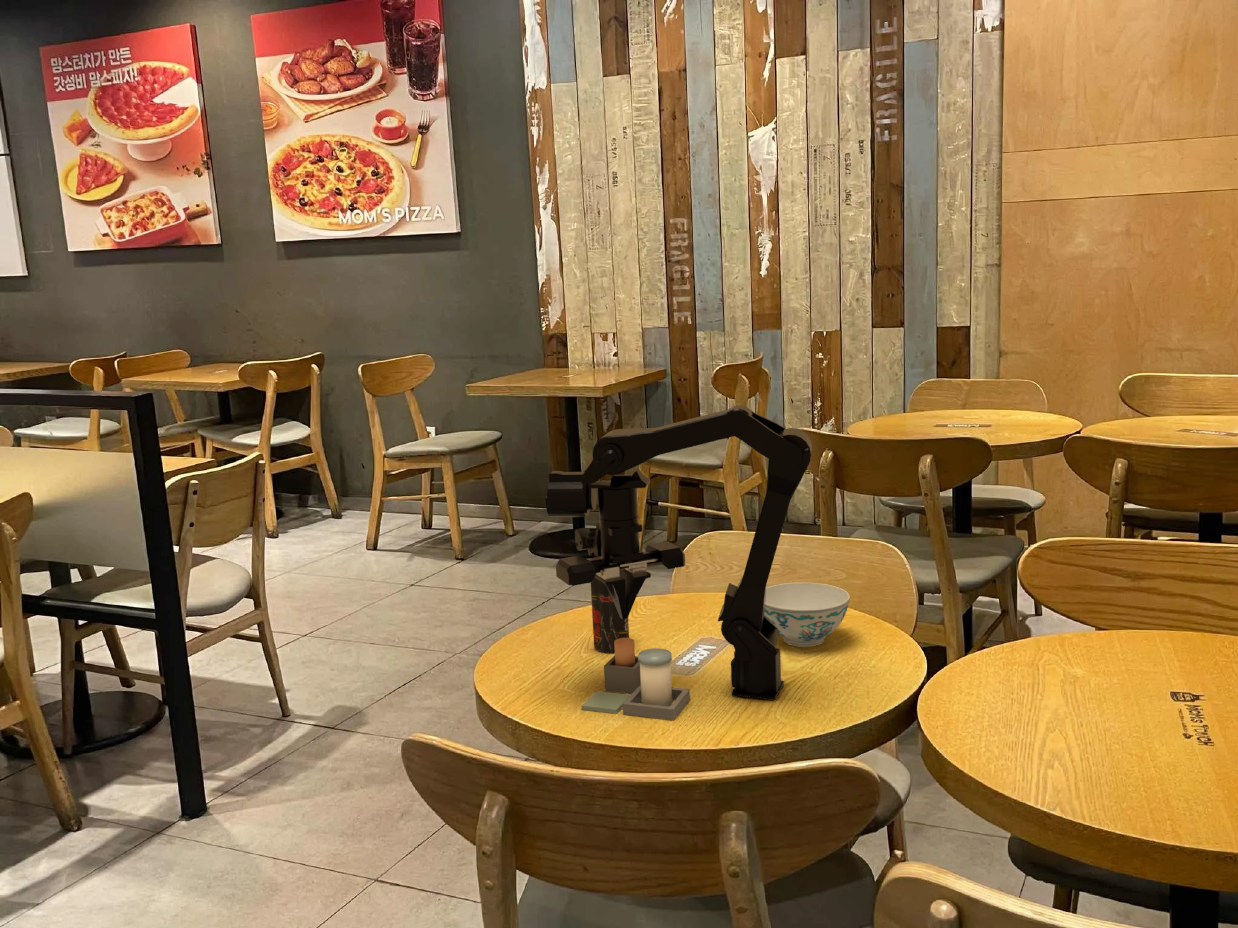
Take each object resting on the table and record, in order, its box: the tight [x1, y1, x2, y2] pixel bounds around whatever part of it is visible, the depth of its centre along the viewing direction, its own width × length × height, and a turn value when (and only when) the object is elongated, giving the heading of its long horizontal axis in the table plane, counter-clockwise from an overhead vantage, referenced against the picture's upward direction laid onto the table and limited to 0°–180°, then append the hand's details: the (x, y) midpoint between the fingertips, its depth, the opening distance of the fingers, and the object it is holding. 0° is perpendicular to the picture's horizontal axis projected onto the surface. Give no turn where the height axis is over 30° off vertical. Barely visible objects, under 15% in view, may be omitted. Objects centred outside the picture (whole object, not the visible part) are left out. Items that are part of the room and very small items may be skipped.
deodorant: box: [589, 556, 630, 654], centre depth 182 cm, size 6×6×15 cm
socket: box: [622, 684, 691, 721], centre depth 158 cm, size 8×8×2 cm
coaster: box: [580, 691, 631, 714], centre depth 160 cm, size 6×6×1 cm
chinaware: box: [764, 581, 851, 648], centre depth 182 cm, size 15×15×8 cm
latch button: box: [614, 637, 636, 667], centre depth 165 cm, size 3×3×4 cm
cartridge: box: [637, 647, 673, 707], centre depth 157 cm, size 5×5×8 cm
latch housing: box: [603, 655, 641, 695], centre depth 166 cm, size 5×5×4 cm
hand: (623, 618), depth 164 cm, fingers closed
